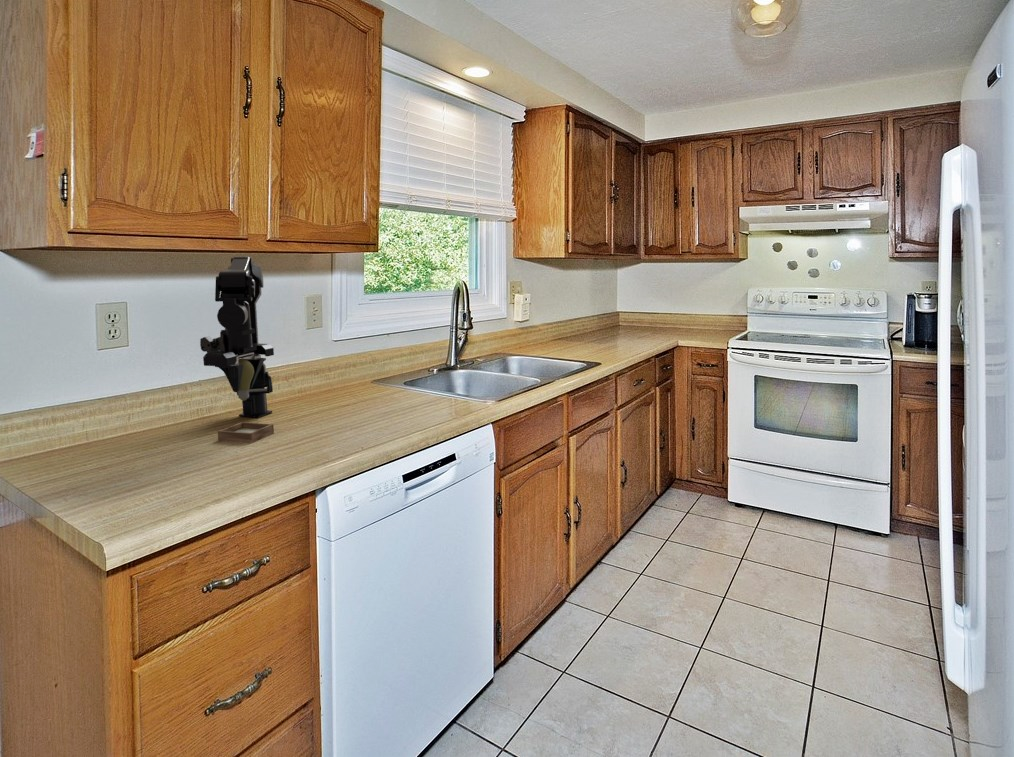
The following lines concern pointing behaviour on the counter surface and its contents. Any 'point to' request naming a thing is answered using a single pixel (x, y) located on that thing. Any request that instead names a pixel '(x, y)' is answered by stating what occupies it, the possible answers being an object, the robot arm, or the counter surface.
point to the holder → (245, 432)
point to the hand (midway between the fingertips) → (243, 390)
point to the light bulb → (245, 379)
